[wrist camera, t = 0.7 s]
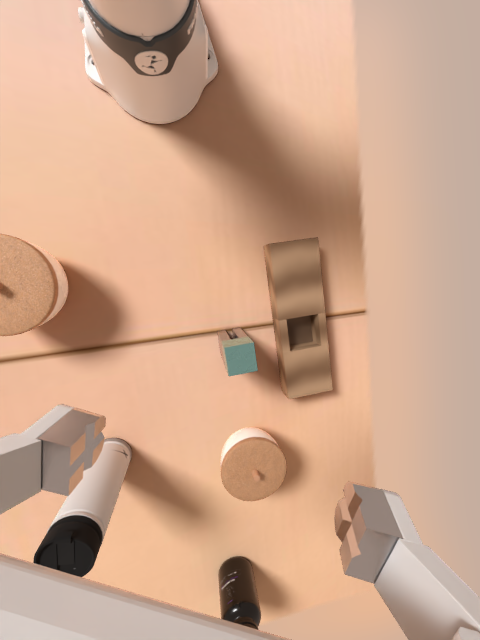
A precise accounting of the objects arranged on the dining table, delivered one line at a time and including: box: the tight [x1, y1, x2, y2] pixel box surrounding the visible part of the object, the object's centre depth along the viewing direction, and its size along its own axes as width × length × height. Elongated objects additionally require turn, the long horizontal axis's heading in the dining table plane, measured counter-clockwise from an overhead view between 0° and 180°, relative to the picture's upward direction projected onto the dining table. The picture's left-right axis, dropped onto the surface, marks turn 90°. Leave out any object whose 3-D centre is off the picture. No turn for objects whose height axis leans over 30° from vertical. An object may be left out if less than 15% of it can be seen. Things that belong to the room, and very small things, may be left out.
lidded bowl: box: [0, 234, 68, 336], centre depth 39 cm, size 13×13×11 cm
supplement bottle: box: [219, 557, 261, 630], centre depth 52 cm, size 7×7×12 cm
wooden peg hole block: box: [264, 237, 333, 399], centre depth 50 cm, size 26×8×4 cm, turn 8°
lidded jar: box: [221, 427, 287, 501], centre depth 50 cm, size 11×11×9 cm
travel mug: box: [34, 438, 132, 577], centre depth 41 cm, size 6×7×20 cm
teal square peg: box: [217, 327, 258, 376], centre depth 45 cm, size 4×4×12 cm
